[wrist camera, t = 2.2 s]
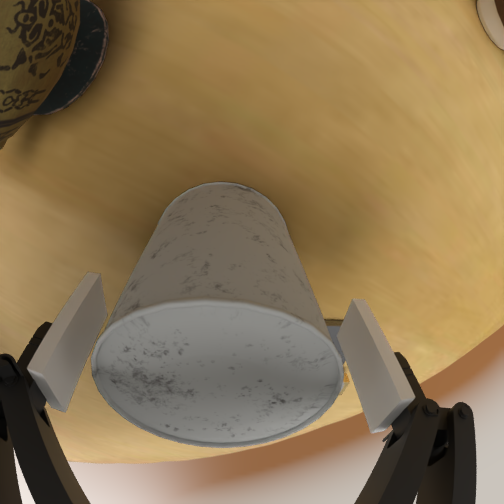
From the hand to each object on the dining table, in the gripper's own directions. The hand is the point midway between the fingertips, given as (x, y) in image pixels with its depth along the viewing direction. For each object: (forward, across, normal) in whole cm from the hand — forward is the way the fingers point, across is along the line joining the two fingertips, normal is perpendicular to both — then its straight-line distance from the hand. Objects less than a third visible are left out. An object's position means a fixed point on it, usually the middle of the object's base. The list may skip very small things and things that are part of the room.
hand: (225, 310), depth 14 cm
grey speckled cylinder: (+7, 0, 0) cm, 7 cm away
